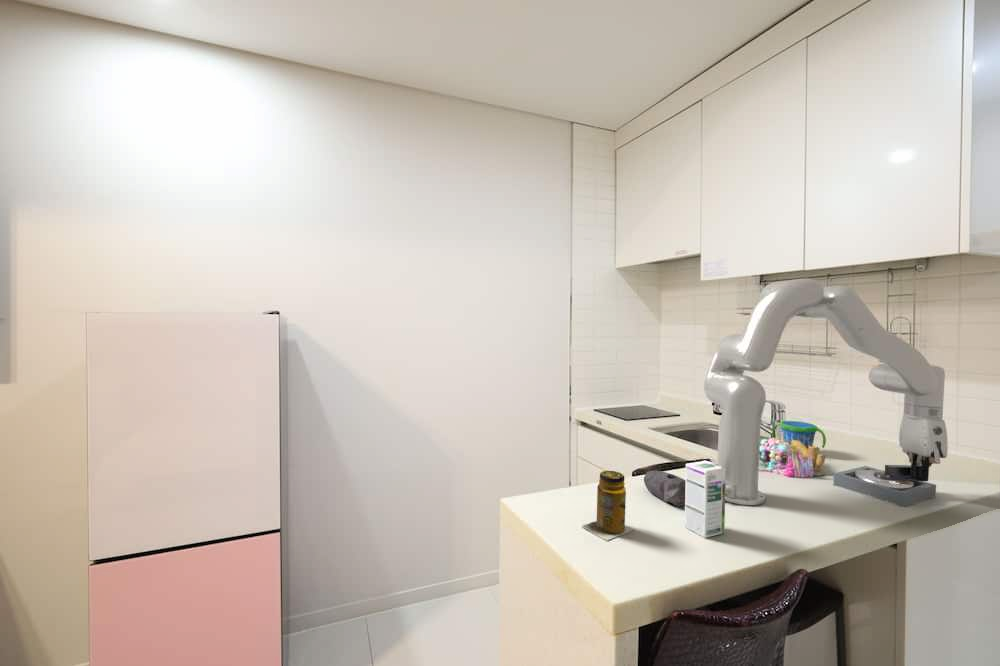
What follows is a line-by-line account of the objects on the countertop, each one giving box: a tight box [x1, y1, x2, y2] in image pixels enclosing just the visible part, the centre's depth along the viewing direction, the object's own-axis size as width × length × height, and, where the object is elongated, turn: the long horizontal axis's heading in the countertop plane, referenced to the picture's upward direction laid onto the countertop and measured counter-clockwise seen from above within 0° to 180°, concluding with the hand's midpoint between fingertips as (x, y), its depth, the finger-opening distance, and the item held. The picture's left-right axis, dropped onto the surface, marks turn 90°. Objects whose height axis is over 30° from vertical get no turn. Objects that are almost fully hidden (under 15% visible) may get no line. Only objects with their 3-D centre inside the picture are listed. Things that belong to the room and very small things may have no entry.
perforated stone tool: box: [643, 470, 686, 507], centre depth 114 cm, size 15×5×7 cm, turn 22°
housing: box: [833, 465, 937, 508], centre depth 122 cm, size 16×16×3 cm
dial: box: [855, 464, 914, 491], centre depth 122 cm, size 15×12×5 cm
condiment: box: [581, 470, 634, 542], centre depth 97 cm, size 7×8×12 cm
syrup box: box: [684, 460, 726, 539], centre depth 97 cm, size 6×6×14 cm
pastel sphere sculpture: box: [759, 437, 827, 479], centre depth 142 cm, size 25×24×9 cm
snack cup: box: [771, 420, 827, 449], centre depth 155 cm, size 16×10×10 cm
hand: (919, 479), depth 119 cm, fingers closed
